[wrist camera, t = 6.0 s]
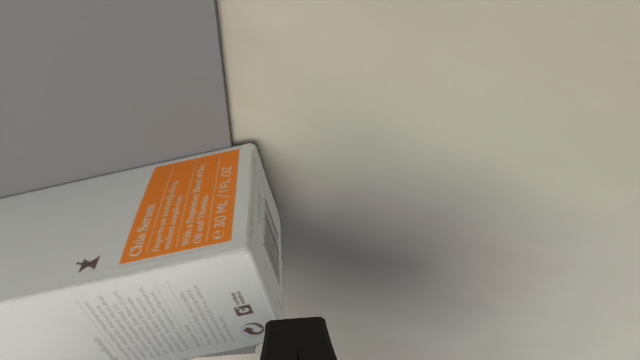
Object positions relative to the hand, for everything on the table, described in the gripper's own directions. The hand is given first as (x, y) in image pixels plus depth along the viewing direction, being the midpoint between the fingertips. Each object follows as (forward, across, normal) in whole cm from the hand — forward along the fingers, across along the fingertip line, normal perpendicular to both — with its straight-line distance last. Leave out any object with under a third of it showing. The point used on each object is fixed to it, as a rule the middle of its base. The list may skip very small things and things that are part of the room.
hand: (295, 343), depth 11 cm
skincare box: (+5, 0, +1) cm, 5 cm away
